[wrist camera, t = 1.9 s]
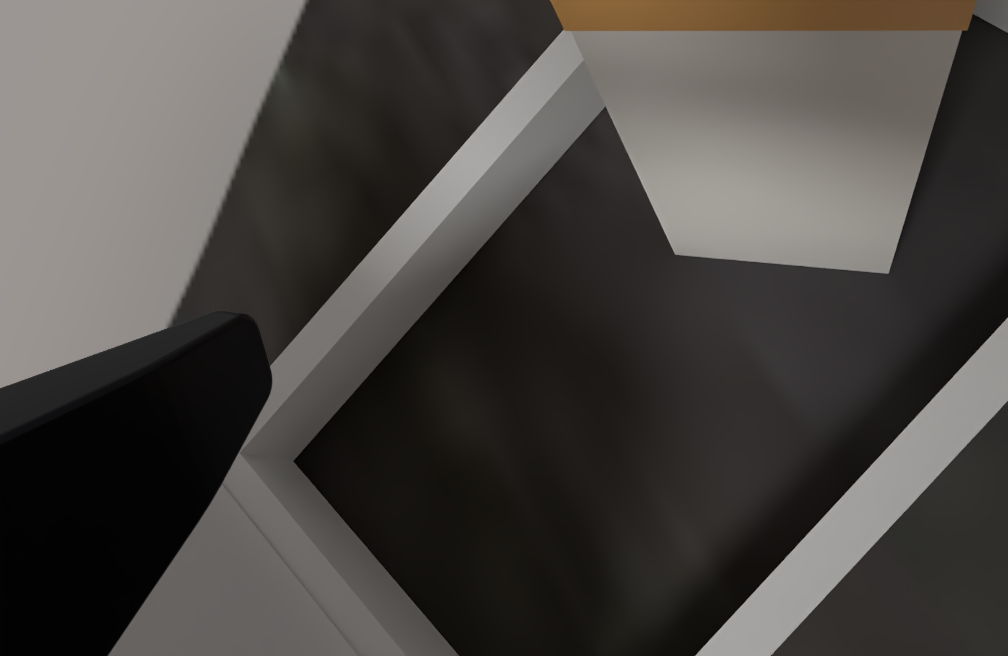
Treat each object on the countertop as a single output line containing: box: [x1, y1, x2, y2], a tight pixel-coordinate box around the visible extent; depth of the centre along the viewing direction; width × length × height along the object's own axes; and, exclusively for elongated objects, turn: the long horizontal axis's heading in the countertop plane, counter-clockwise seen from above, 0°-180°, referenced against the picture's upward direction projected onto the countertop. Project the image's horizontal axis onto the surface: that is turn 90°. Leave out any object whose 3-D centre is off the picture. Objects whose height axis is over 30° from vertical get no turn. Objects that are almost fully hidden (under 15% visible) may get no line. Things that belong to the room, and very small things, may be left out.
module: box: [550, 0, 977, 274], centre depth 16 cm, size 5×5×13 cm
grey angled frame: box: [108, 0, 1008, 656], centre depth 16 cm, size 25×13×12 cm, turn 136°
